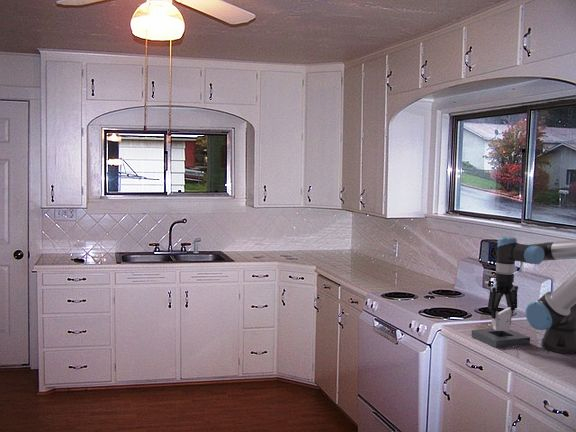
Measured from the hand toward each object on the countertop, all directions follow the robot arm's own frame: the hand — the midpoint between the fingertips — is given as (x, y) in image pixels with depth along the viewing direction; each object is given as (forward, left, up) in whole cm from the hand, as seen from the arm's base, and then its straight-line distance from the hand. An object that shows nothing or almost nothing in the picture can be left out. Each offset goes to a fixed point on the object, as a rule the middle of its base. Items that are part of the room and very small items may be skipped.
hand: (501, 324), depth 266 cm
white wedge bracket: (0, 0, -2) cm, 2 cm away
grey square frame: (0, 0, -7) cm, 7 cm away
